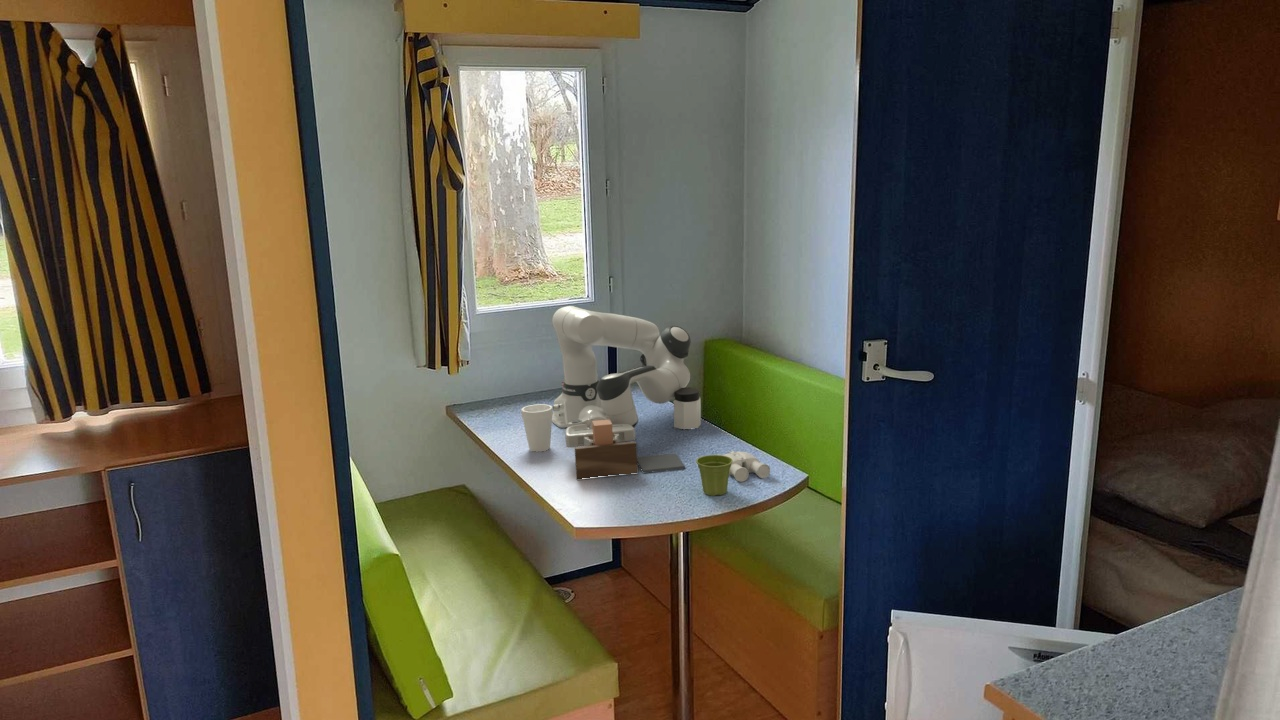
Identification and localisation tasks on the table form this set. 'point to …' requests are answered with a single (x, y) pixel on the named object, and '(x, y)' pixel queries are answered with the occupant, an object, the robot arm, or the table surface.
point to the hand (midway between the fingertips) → (603, 443)
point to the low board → (606, 460)
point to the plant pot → (714, 473)
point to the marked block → (602, 432)
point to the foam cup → (538, 426)
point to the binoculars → (746, 466)
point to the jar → (687, 408)
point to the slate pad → (660, 462)
